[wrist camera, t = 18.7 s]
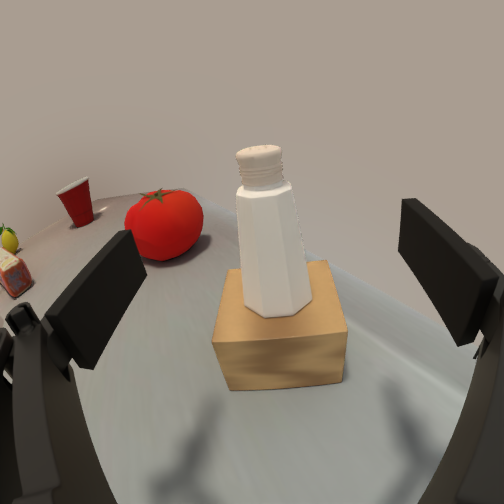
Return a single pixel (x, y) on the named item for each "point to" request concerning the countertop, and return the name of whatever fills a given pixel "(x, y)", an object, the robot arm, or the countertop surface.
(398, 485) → the countertop surface
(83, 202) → the plastic cup
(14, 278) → the snack package
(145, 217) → the tomato
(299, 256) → the salt shaker
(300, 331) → the wood block
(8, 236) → the lemon
